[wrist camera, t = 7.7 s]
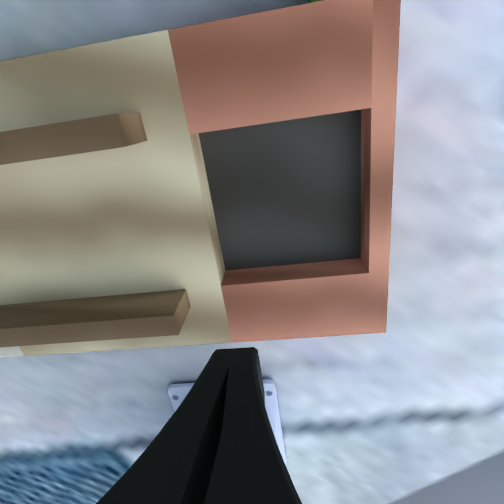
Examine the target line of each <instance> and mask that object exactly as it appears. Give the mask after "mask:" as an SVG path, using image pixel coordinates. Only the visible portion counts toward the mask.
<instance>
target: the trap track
mask: <svg viewBox="0 0 504 504" xmlns="http://www.w3.org/2000/svg"><path fill="white" fill-rule="evenodd" d="M400 3H401V0H322V1H317V2H312V3H306V4H301V5H296V6H291V7H285V8H280V9H275V10H269V11H264V12H259V13H253V14H248V15H243V16H237V17H232V18H227V19H221V20H216V21H211V22H205V23H200V24H195V25H190V26H184V27H179V28H174V29H168V30H163V31H158V32H152V33H147V34H142V35H136V36H131V37H126V38H120V39H115V40H110V41H104V42H99V43H94V44H88V45H83V46H78V47H73V48H67V49H62V50H57V51H51V52H46V53H41V54H35V55H30V56H25V57H19V58H14V59H9V60H3V61H0V358H3V357H18V356H33V355H49V354H64V353H79V352H95V351H110V350H125V349H140V348H156V347H171V346H186V345H201V344H217V343H232V342H247V341H262V340H278V339H293V338H308V337H324V336H339V335H354V334H369V333H385V332H386V322H387V299H388V276H389V253H390V231H391V208H392V185H393V162H394V140H395V117H396V94H397V71H398V49H399V26H400Z"/></svg>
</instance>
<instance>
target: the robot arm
mask: <svg viewBox="0 0 504 504" xmlns="http://www.w3.org/2000/svg"><path fill="white" fill-rule="evenodd" d="M269 391H270V392H269ZM168 395H169V398H170V401H171V404H172V407H173V410H174V414H173V415H172V416H171V418H170V419H169V420H168V422H167V423H166V424H165V426H164V427H163V428H162V430H161V431H160V432H159V434H158V435H157V436H156V438H155V439H154V440H153V441H152V442H151V444H150V445H149V446H148V447H147V449H146V450H145V451H144V452H143V453H142V454H141V456H140V457H139V458H138V459H137V460H136V461H135V463H134V464H133V465H132V466H131V467H130V468H129V469H128V471H127V472H126V473H125V474H124V475H123V476H122V477H121V478H120V479H119V480H118V481H117V482H116V483H115V484H114V486H113V487H112V488H111V489H110V490H109V491H108V492H107V493H106V494H105V495H104V496H103V497H102V498H101V499H100V500H99V501H98V502H97V503H96V504H302V503H301V501H300V498H299V496H298V494H297V492H296V490H295V487H294V485H293V483H292V480H291V478H290V475H289V473H288V471H287V468H286V466H285V465H286V455H285V449H284V442H283V435H282V428H281V422H280V415H279V408H278V401H277V394H276V388H275V383H274V382H273V381H272V380H269V379H264V380H262V374H261V368H260V362H259V356H258V350H257V349H255V348H254V347H250V348H234V349H218V350H215V352H214V353H213V354H212V356H211V358H210V359H209V361H208V363H207V364H206V366H205V368H204V369H203V371H202V372H201V374H200V376H199V377H198V379H197V380H196V382H195V383H186V384H172V385H170V386H169V388H168ZM176 395H177V396H176Z"/></svg>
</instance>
